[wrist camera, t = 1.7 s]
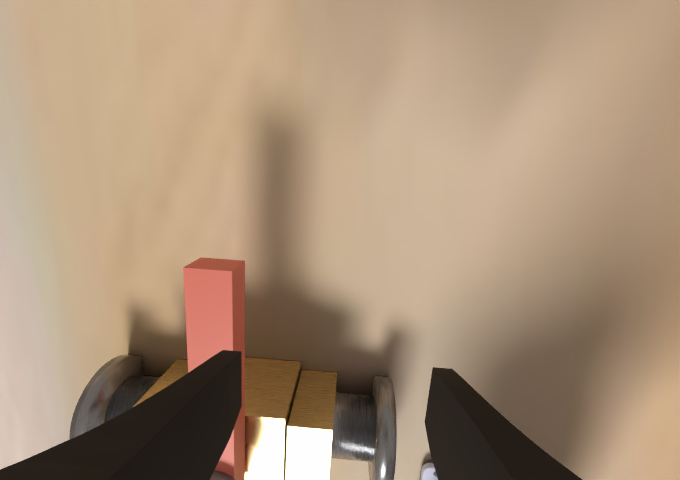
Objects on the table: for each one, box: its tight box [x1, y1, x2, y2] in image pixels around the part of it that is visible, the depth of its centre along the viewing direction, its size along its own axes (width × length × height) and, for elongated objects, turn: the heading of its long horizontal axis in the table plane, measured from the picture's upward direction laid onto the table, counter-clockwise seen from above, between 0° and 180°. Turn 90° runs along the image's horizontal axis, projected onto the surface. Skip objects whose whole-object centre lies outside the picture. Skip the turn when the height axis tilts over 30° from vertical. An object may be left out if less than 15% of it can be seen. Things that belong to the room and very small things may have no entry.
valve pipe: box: [70, 355, 396, 480], centre depth 20 cm, size 18×6×6 cm, turn 86°
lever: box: [183, 258, 245, 480], centre depth 14 cm, size 13×3×2 cm, turn 176°
